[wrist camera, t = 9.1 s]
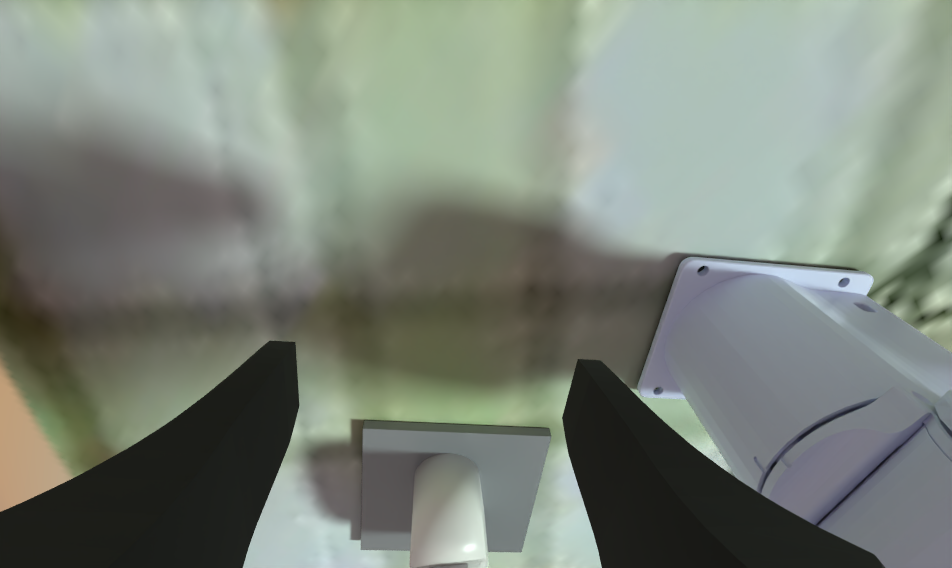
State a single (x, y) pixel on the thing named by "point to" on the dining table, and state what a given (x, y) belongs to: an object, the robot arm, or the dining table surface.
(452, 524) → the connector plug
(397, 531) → the slate coaster
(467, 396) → the dining table surface
